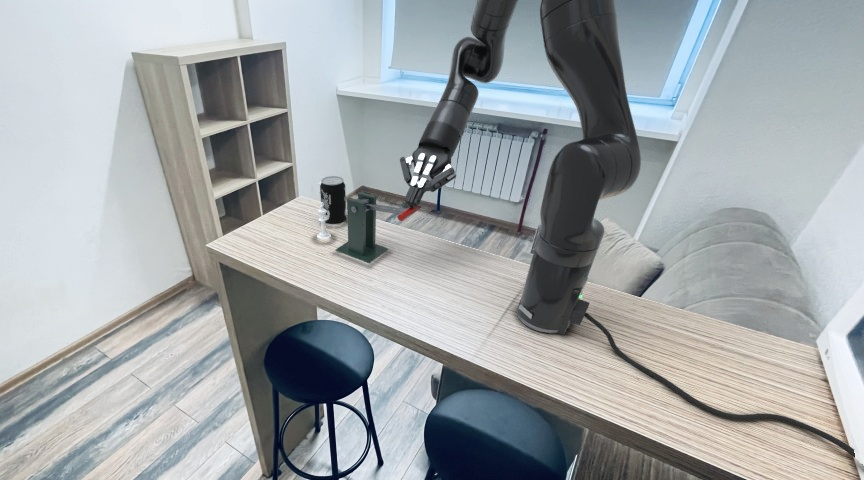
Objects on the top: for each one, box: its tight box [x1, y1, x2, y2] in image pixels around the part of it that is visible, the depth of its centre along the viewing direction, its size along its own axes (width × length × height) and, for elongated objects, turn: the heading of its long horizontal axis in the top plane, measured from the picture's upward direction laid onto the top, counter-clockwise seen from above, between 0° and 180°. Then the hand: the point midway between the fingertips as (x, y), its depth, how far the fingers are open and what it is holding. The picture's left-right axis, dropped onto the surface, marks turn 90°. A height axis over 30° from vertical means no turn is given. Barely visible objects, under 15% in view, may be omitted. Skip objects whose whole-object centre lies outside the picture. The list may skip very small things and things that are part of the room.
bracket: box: [334, 191, 389, 264], centre depth 94 cm, size 10×8×14 cm
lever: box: [355, 197, 419, 222], centre depth 87 cm, size 14×6×2 cm, turn 52°
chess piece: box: [316, 201, 332, 240], centre depth 101 cm, size 5×5×10 cm
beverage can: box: [319, 175, 347, 225], centre depth 108 cm, size 7×7×12 cm
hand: (409, 205), depth 83 cm, fingers closed
